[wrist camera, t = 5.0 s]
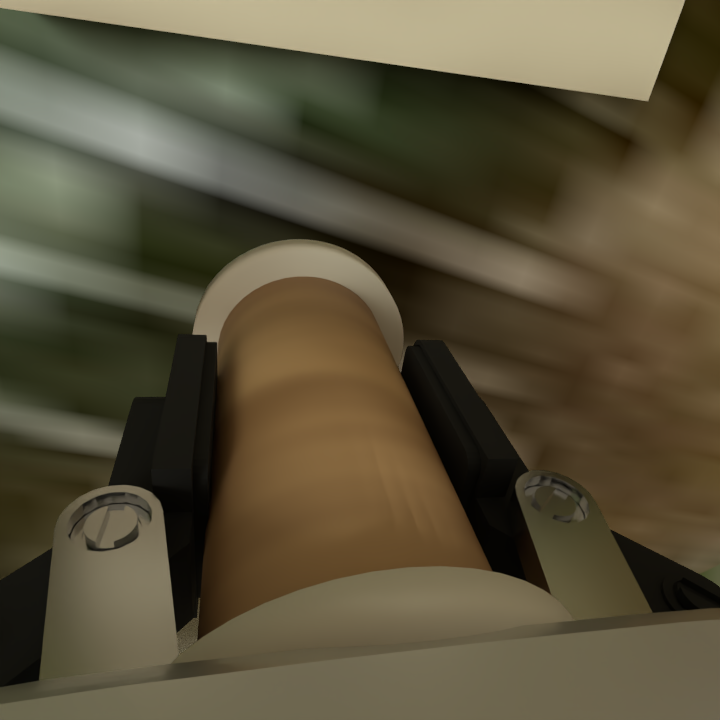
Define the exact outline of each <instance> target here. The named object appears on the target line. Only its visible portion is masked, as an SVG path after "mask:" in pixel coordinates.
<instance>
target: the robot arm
mask: <svg viewBox="0 0 720 720" xmlns="http://www.w3.org/2000/svg"><path fill="white" fill-rule="evenodd" d="M401 375H402V377H403V379H404V381H405V384H406V386H407V388H408V390H409V392H410V394H411V396H412V399H413V401H414V403H415V405H416V407H417V409H418V412H419V414H420V416H421V418H422V420H423V422H424V425H425V427H426V429H427V431H428V433H429V435H430V437H431V440H432V442H433V444H434V446H435V448H436V450H437V453H438V455H439V457H440V459H441V461H442V463H443V465H444V468H445V470H446V472H447V474H448V476H449V478H450V481H451V483H452V485H453V487H454V489H455V491H456V494H457V496H458V498H459V500H460V502H461V504H462V506H463V509H464V511H465V513H466V515H467V517H468V519H469V522H470V524H471V526H472V528H473V530H474V532H475V535H476V537H477V539H478V541H479V543H480V545H481V547H482V550H483V552H484V554H485V556H486V558H487V560H488V563H489V565H490V567H491V569H492V571H493V572H497V573H502V574H505V575H509V576H512V577H515V578H518V579H521V580H524V581H527V582H529V583H531V584H533V585H535V586H537V587H539V588H541V589H543V590H545V591H546V592H547V593H549V594H550V595H551V596H553V597H554V598H555V599H557V600H558V601H559V602H560V603H561V604H562V605H563V606H564V608H565V609H566V610H567V611H568V612H569V613H570V615H571V616H572V618H573V620H574V621H564V622H554V623H544V624H534V625H524V626H519V627H514V628H509V629H505V630H500V631H495V632H489V633H483V634H477V635H471V636H465V637H457V638H449V639H441V640H433V641H423V642H412V643H401V644H390V645H373V646H355V647H330V648H308V649H299V650H291V651H282V652H273V653H264V654H255V655H246V656H237V657H228V658H219V659H210V660H201V661H192V662H184V663H175V664H171V663H172V662H173V661H174V660H175V659H176V658H177V657H178V656H179V652H178V643H177V634H176V633H177V632H178V631H180V630H181V629H182V628H183V627H184V626H185V625H186V624H187V623H188V622H189V621H191V620H192V619H193V618H197V609H198V598H200V597H201V583H202V569H203V554H204V540H205V530H206V526H207V522H208V517H209V502H210V487H211V471H212V456H213V440H214V425H215V410H216V394H217V379H218V371H217V342H207V335H190V334H178V338H177V343H176V348H175V353H174V358H173V363H172V368H171V373H170V378H169V383H168V388H167V393H166V397H135V398H134V400H133V402H132V406H131V409H130V412H129V416H128V419H127V423H126V426H125V430H124V433H123V437H122V440H121V444H120V447H119V451H118V454H117V458H116V461H115V465H114V468H113V471H112V475H111V478H110V482H109V485H108V486H107V487H103V488H99V489H96V490H93V491H91V492H89V493H87V494H85V495H82V496H80V497H79V498H77V499H76V500H75V501H74V502H72V503H71V504H70V505H68V506H67V507H66V508H65V510H64V511H63V512H62V514H61V515H60V516H59V517H58V520H57V523H56V526H55V529H54V538H53V548H51V549H50V550H48V551H47V552H45V553H43V554H42V555H40V556H39V557H37V558H35V559H34V560H32V561H31V562H29V563H27V564H26V565H24V566H23V567H21V568H19V569H18V570H16V571H15V572H13V573H11V574H10V575H8V576H7V577H5V578H3V579H2V580H0V720H720V587H719V586H718V585H716V584H715V583H713V582H712V581H710V580H708V579H707V578H705V577H703V576H702V575H700V574H698V573H696V572H694V571H692V570H690V569H688V568H686V567H684V566H682V565H680V564H678V563H676V562H674V561H672V560H670V559H668V558H666V557H664V556H662V555H660V554H658V553H656V552H654V551H652V550H650V549H648V548H646V547H644V546H642V545H640V544H638V543H636V542H634V541H632V540H630V539H628V538H626V537H624V536H622V535H620V534H618V533H616V532H614V531H612V530H610V529H609V527H608V525H607V523H606V521H605V519H604V517H603V515H602V513H601V511H600V509H599V507H598V505H597V504H596V502H595V500H594V499H593V497H592V496H591V495H590V493H589V492H588V491H587V490H585V489H584V488H583V487H582V486H581V485H580V484H578V483H577V482H575V481H573V480H572V479H570V478H568V477H566V476H563V475H561V474H558V473H555V472H550V471H545V470H533V471H530V472H529V471H528V469H527V467H526V466H525V464H524V463H523V461H522V460H521V458H520V457H519V455H518V454H517V452H516V451H515V449H514V447H513V446H512V444H511V443H510V441H509V440H508V438H507V437H506V435H505V434H504V432H503V430H502V429H501V427H500V426H499V424H498V423H497V421H496V420H495V418H494V417H493V415H492V414H491V412H490V410H489V409H488V407H487V406H486V404H485V403H484V401H483V400H482V399H481V398H479V396H478V394H477V393H476V391H475V390H474V388H473V387H472V385H471V384H470V382H469V380H468V379H467V377H466V376H465V374H464V373H463V371H462V370H461V368H460V367H459V365H458V363H457V362H456V360H455V359H454V357H453V356H452V354H451V353H450V351H449V349H448V348H447V346H446V345H445V343H444V342H443V341H441V340H417V341H416V342H415V344H414V346H408V347H407V349H406V352H405V356H404V361H403V366H402V372H401Z"/></svg>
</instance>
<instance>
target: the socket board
mask: <svg viewBox="0 0 720 720" xmlns="http://www.w3.org/2000/svg"><path fill="white" fill-rule="evenodd" d="M684 2H685V0H0V8H5V9H12V10H19V11H26V12H33V13H40V14H47V15H54V16H61V17H68V18H75V19H82V20H89V21H95V22H102V23H109V24H116V25H123V26H130V27H137V28H144V29H151V30H158V31H165V32H172V33H179V34H186V35H193V36H199V37H206V38H213V39H220V40H227V41H234V42H241V43H248V44H255V45H262V46H269V47H276V48H283V49H290V50H297V51H303V52H310V53H317V54H324V55H331V56H338V57H345V58H352V59H359V60H366V61H373V62H380V63H387V64H394V65H401V66H407V67H414V68H421V69H428V70H435V71H442V72H449V73H456V74H463V75H470V76H477V77H484V78H491V79H498V80H505V81H512V82H518V83H525V84H532V85H539V86H546V87H553V88H560V89H567V90H574V91H581V92H588V93H595V94H602V95H609V96H616V97H622V98H629V99H636V100H643V101H648V100H649V97H650V94H651V92H652V89H653V86H654V83H655V81H656V78H657V75H658V73H659V70H660V67H661V64H662V62H663V59H664V56H665V54H666V51H667V48H668V45H669V43H670V40H671V37H672V35H673V32H674V29H675V26H676V24H677V21H678V18H679V16H680V13H681V10H682V7H683V5H684Z"/></svg>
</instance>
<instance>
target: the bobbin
mask: <svg viewBox="0 0 720 720" xmlns="http://www.w3.org/2000/svg"><path fill="white" fill-rule="evenodd" d="M193 335H207V342H217V371H218V379H217V394H216V410H215V425H214V440H213V456H212V471H211V487H210V502H209V517H208V522H207V526H206V530H205V540H204V554H203V569H202V583H201V597H200V612H199V626H198V640H197V642H196V643H194V644H193V645H192V646H190V647H189V648H188V649H186V650H185V651H184V652H183V653H181V654H180V655H179V656H178V657H177V658H176V659H175V660H174V661H173V662H172V663H171V664H175V663H184V662H192V661H201V660H210V659H219V658H228V657H237V656H246V655H255V654H264V653H273V652H282V651H291V650H299V649H308V648H330V647H355V646H373V645H390V644H401V643H412V642H423V641H433V640H441V639H449V638H457V637H465V636H471V635H477V634H483V633H489V632H495V631H500V630H505V629H509V628H514V627H519V626H524V625H534V624H544V623H554V622H564V621H574V620H573V618H572V616H571V615H570V613H569V612H568V611H567V610H566V609H565V608H564V606H563V605H562V604H561V603H560V602H559V601H558V600H557V599H555V598H554V597H553V596H551V595H550V594H549V593H547V592H546V591H545V590H543V589H541V588H539V587H537V586H535V585H533V584H531V583H529V582H527V581H524V580H521V579H518V578H515V577H512V576H509V575H505V574H502V573H497V572H493V571H492V569H491V567H490V565H489V563H488V560H487V558H486V556H485V554H484V552H483V550H482V547H481V545H480V543H479V541H478V539H477V537H476V535H475V532H474V530H473V528H472V526H471V524H470V522H469V519H468V517H467V515H466V513H465V511H464V509H463V506H462V504H461V502H460V500H459V498H458V496H457V494H456V491H455V489H454V487H453V485H452V483H451V481H450V478H449V476H448V474H447V472H446V470H445V468H444V465H443V463H442V461H441V459H440V457H439V455H438V453H437V450H436V448H435V446H434V444H433V442H432V440H431V437H430V435H429V433H428V431H427V429H426V427H425V425H424V422H423V420H422V418H421V416H420V414H419V412H418V409H417V407H416V405H415V403H414V401H413V399H412V396H411V394H410V392H409V390H408V388H407V386H406V384H405V381H404V379H403V377H402V375H401V373H400V371H399V368H398V367H399V364H400V360H401V357H402V352H403V343H404V337H403V326H402V320H401V317H400V314H399V311H398V308H397V306H396V304H395V302H394V300H393V298H392V296H391V294H390V293H389V291H388V289H387V287H386V285H385V284H384V282H383V281H382V279H381V278H380V277H379V275H378V274H377V273H376V272H375V271H374V270H373V269H372V268H371V267H370V266H369V265H368V264H367V263H366V262H365V261H363V260H362V259H361V258H359V257H358V256H356V255H355V254H353V253H351V252H349V251H348V250H346V249H343V248H341V247H338V246H336V245H333V244H329V243H325V242H322V241H315V240H307V239H291V240H283V241H276V242H272V243H269V244H265V245H262V246H259V247H257V248H254V249H252V250H249V251H247V252H246V253H244V254H242V255H240V256H239V257H237V258H235V259H234V260H233V261H232V262H230V263H229V264H228V265H226V266H225V267H224V268H223V269H222V270H221V271H220V272H219V273H218V274H217V275H216V276H215V277H214V279H213V280H212V281H211V283H210V284H209V285H208V287H207V289H206V290H205V292H204V294H203V296H202V298H201V300H200V303H199V306H198V308H197V312H196V317H195V322H194V328H193Z"/></svg>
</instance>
